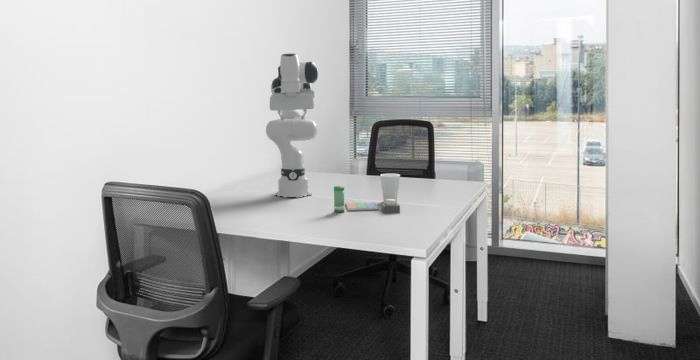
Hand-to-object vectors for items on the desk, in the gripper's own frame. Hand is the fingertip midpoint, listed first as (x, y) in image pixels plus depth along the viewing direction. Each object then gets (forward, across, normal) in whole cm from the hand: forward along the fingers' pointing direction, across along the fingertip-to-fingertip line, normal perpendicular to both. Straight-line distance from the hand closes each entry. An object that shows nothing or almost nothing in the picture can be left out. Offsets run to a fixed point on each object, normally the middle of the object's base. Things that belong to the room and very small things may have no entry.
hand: (292, 119), depth 248 cm
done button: (+40, -41, +16) cm, 60 cm away
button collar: (+42, -41, +16) cm, 61 cm away
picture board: (+41, -30, +7) cm, 51 cm away
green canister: (+41, -19, +15) cm, 48 cm away
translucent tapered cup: (+41, -44, -5) cm, 60 cm away
